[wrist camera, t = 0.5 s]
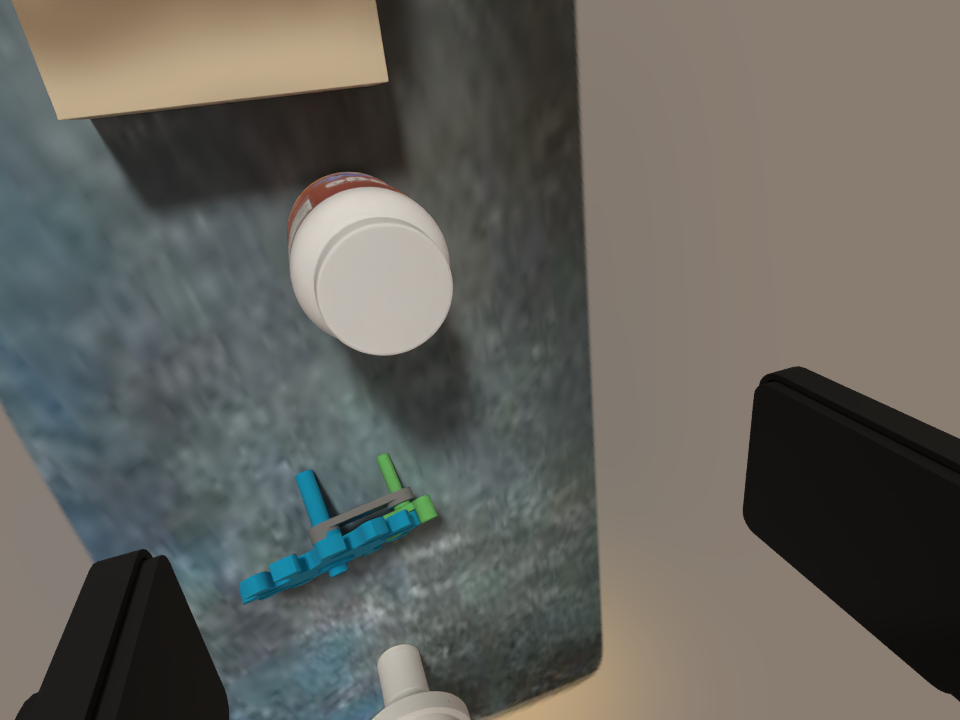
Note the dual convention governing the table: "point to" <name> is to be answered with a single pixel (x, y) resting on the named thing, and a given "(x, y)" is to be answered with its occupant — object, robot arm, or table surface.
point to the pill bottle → (368, 264)
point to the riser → (197, 51)
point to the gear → (330, 542)
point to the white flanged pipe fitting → (413, 690)
